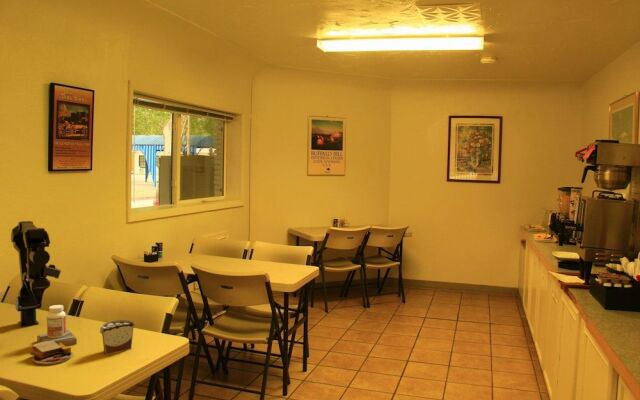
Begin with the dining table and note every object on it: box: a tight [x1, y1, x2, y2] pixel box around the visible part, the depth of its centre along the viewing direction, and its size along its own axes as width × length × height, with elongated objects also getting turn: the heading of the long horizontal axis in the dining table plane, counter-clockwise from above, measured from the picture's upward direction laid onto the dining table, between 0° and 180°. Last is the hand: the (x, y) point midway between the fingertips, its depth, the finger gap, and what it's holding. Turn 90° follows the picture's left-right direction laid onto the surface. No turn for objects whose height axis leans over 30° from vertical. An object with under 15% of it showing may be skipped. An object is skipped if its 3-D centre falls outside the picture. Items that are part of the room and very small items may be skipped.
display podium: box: [36, 329, 78, 347], centre depth 194 cm, size 11×11×2 cm
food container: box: [99, 319, 136, 356], centre depth 188 cm, size 12×6×10 cm, turn 135°
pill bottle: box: [46, 304, 67, 338], centre depth 194 cm, size 6×6×11 cm
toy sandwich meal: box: [29, 341, 74, 366], centre depth 179 cm, size 12×14×5 cm
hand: (36, 301), depth 201 cm, fingers open, 9 cm apart
